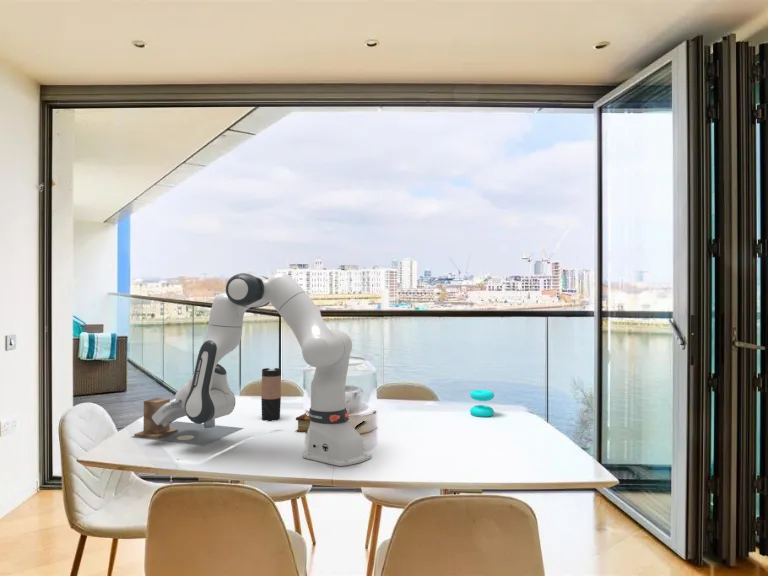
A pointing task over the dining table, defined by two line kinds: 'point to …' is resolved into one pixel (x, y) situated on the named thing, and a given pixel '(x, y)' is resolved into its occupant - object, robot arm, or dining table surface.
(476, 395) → the donuts
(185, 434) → the board
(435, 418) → the dining table surface
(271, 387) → the travel mug
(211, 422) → the peg
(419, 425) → the dining table surface
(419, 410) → the dining table surface
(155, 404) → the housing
